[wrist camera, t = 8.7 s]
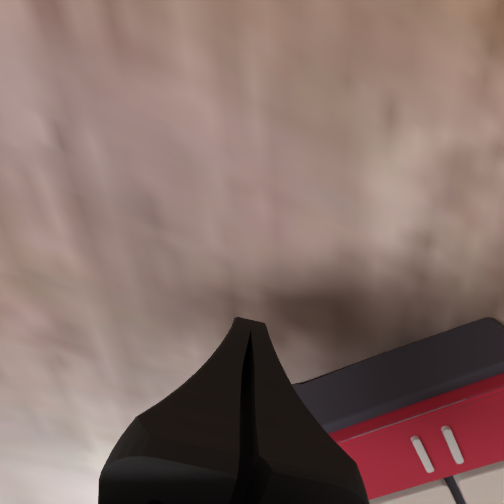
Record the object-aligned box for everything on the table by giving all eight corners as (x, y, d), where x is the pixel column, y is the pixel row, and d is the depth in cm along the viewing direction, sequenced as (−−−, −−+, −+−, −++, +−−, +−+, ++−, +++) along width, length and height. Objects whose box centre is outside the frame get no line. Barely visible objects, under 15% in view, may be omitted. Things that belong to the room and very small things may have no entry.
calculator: (591, 515, 14) (317, 583, 17) (519, 434, 19) (305, 499, 21) (560, 363, 11) (223, 478, 14) (479, 303, 15) (231, 402, 18)
